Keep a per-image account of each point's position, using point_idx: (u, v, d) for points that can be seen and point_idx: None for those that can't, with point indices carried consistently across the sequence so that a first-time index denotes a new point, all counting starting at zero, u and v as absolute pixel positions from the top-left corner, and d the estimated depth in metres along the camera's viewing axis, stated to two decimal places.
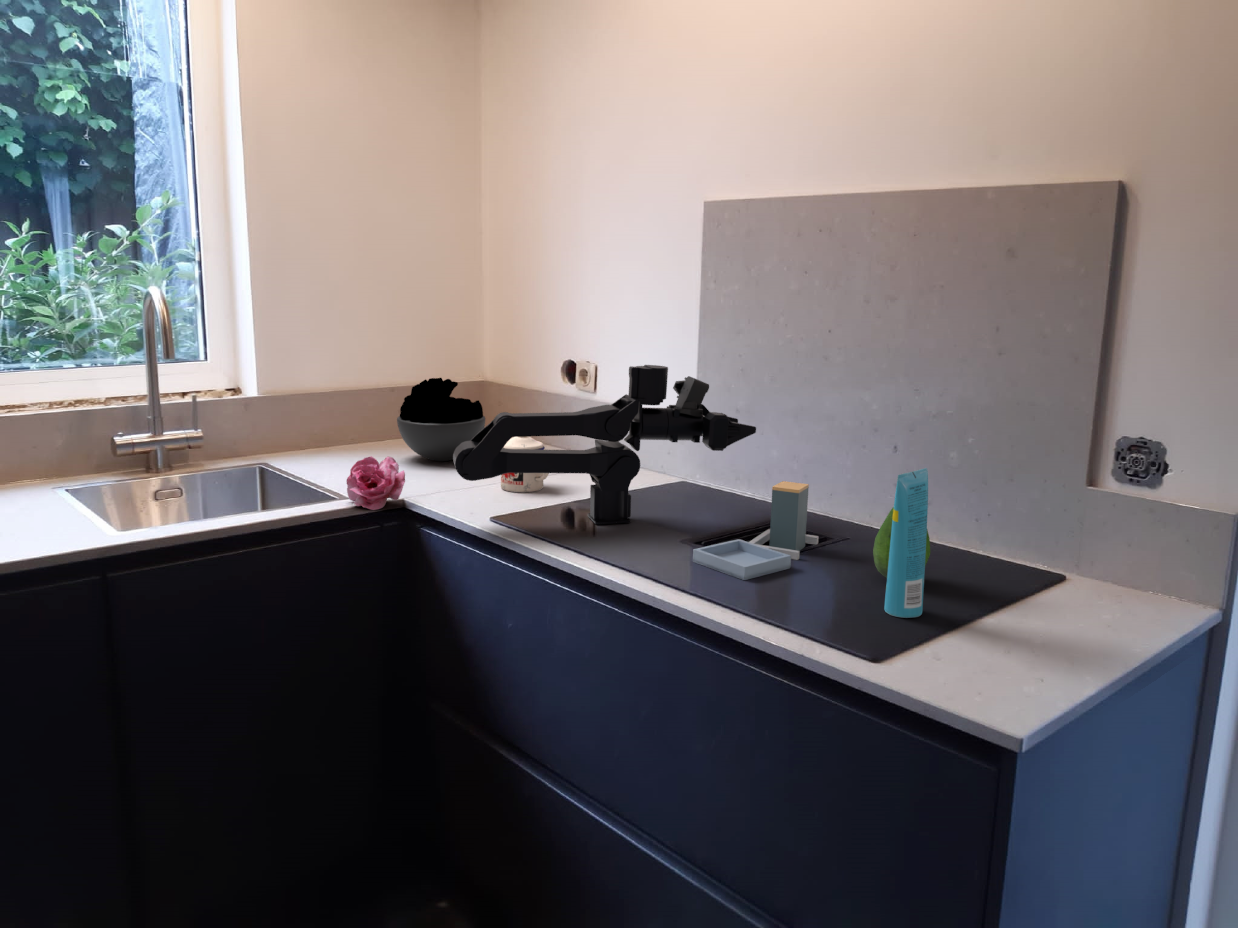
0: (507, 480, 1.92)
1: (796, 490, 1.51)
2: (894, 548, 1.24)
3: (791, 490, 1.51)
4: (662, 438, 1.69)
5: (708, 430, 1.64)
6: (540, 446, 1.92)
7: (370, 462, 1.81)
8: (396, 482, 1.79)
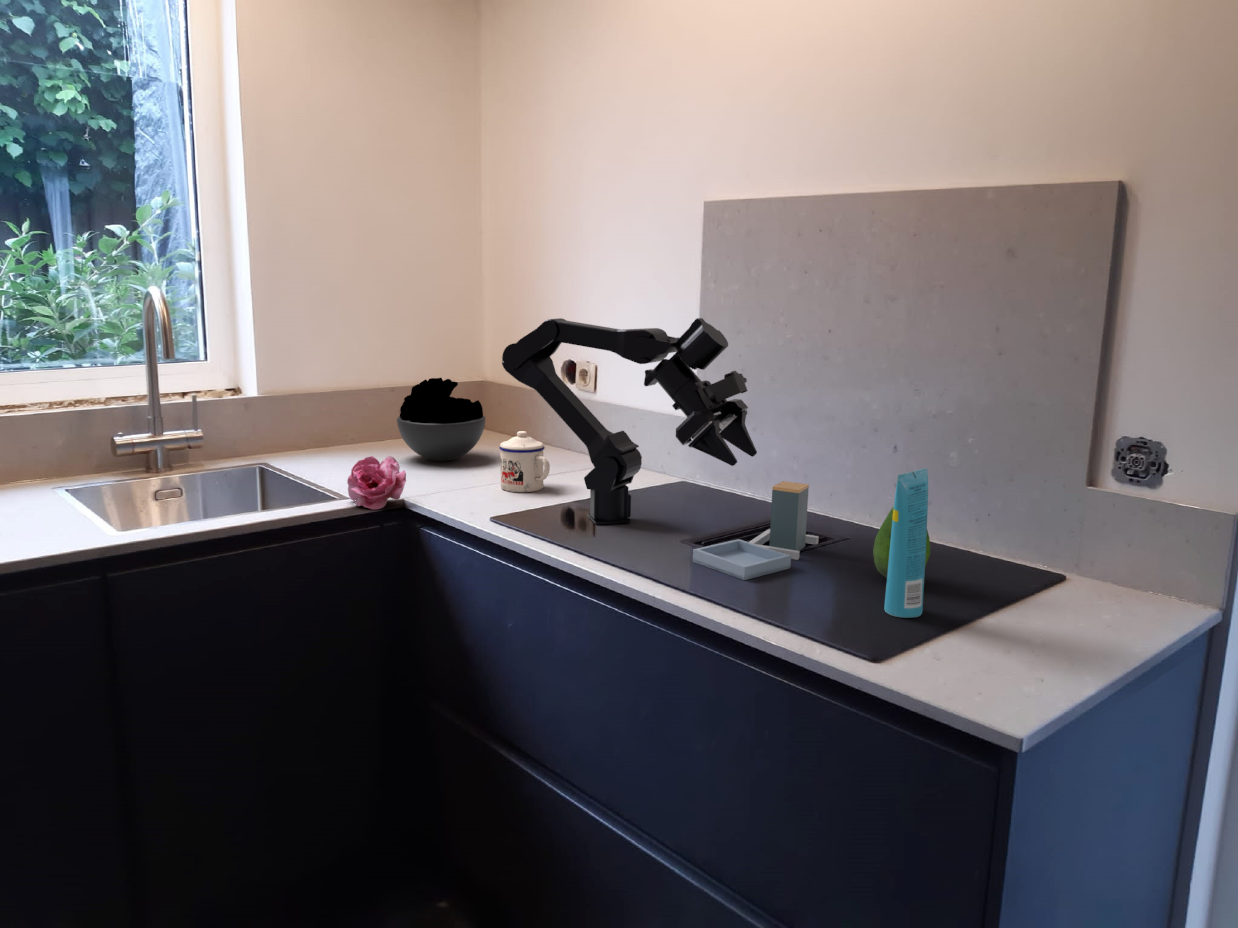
0: (507, 480, 1.92)
1: (796, 490, 1.51)
2: (894, 548, 1.24)
3: (791, 490, 1.51)
4: (670, 396, 1.60)
5: (687, 418, 1.52)
6: (540, 446, 1.92)
7: (371, 462, 1.81)
8: (397, 482, 1.79)
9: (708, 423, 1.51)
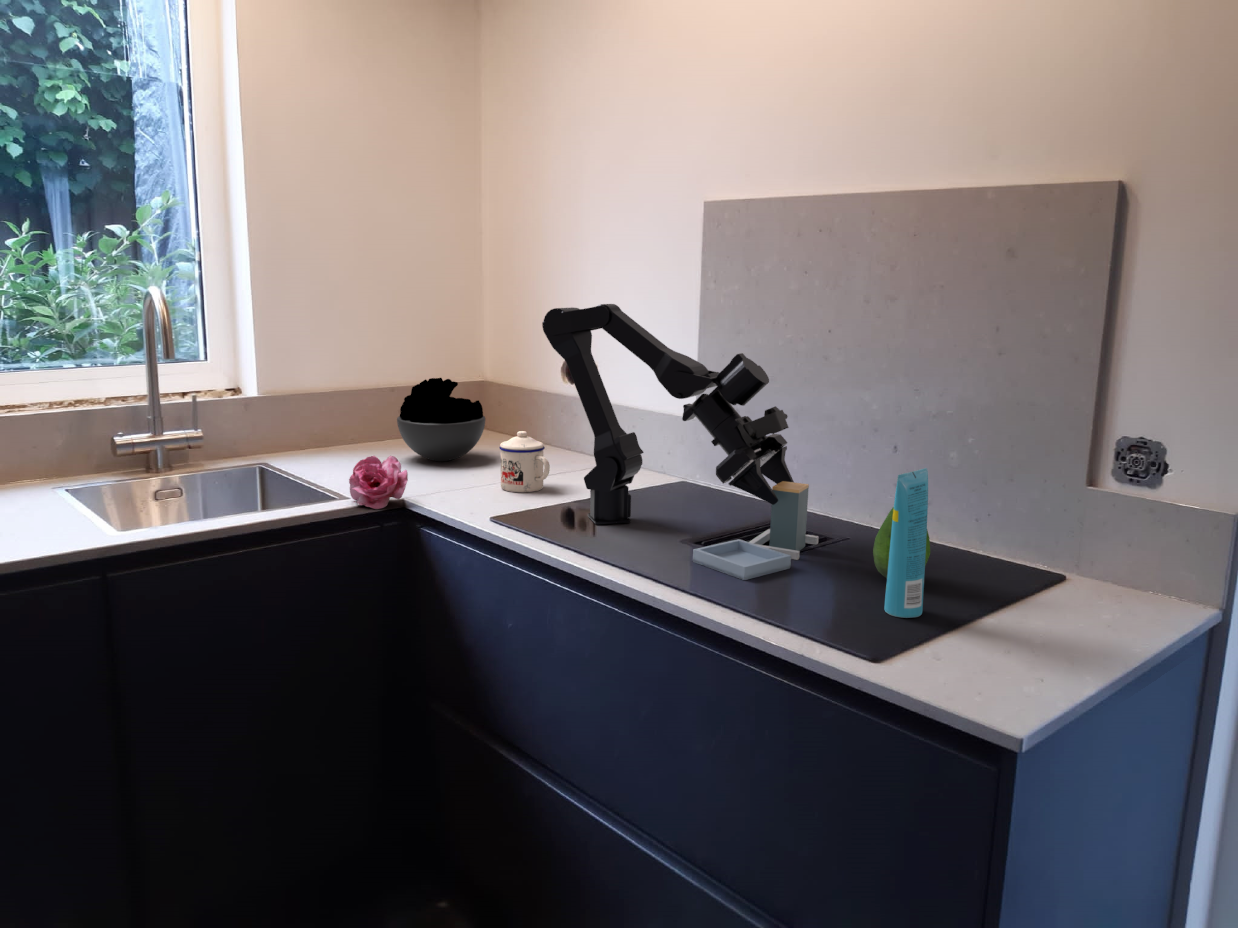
0: (507, 480, 1.92)
1: (796, 490, 1.51)
2: (894, 548, 1.24)
3: (791, 490, 1.51)
4: (709, 431, 1.58)
5: None
6: (540, 446, 1.92)
7: (373, 461, 1.81)
8: (399, 481, 1.80)
9: (749, 462, 1.49)
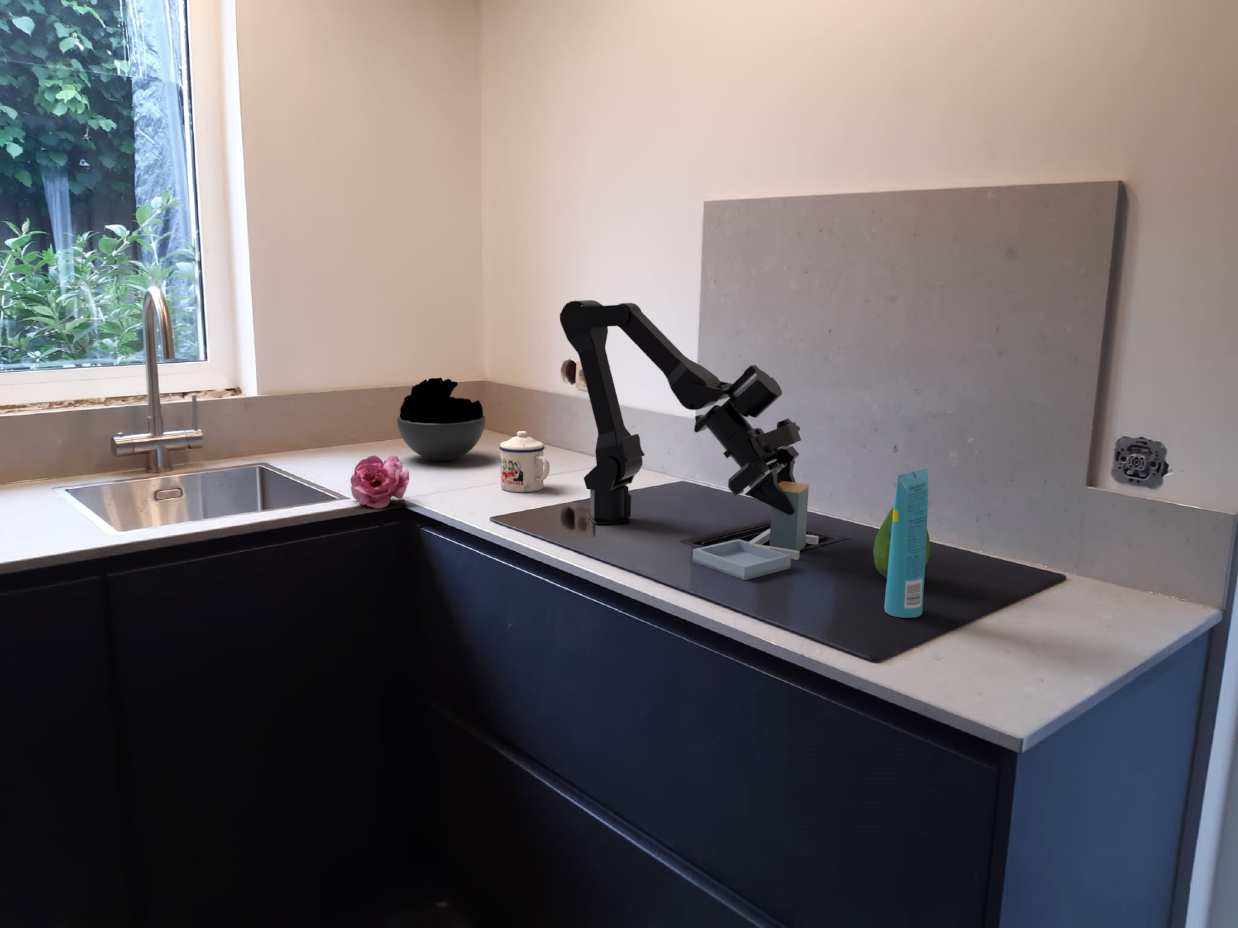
0: (507, 480, 1.92)
1: (796, 490, 1.51)
2: (894, 548, 1.24)
3: (791, 490, 1.51)
4: (721, 443, 1.57)
5: (740, 469, 1.49)
6: (540, 446, 1.92)
7: (374, 461, 1.82)
8: (400, 481, 1.80)
9: (766, 472, 1.50)
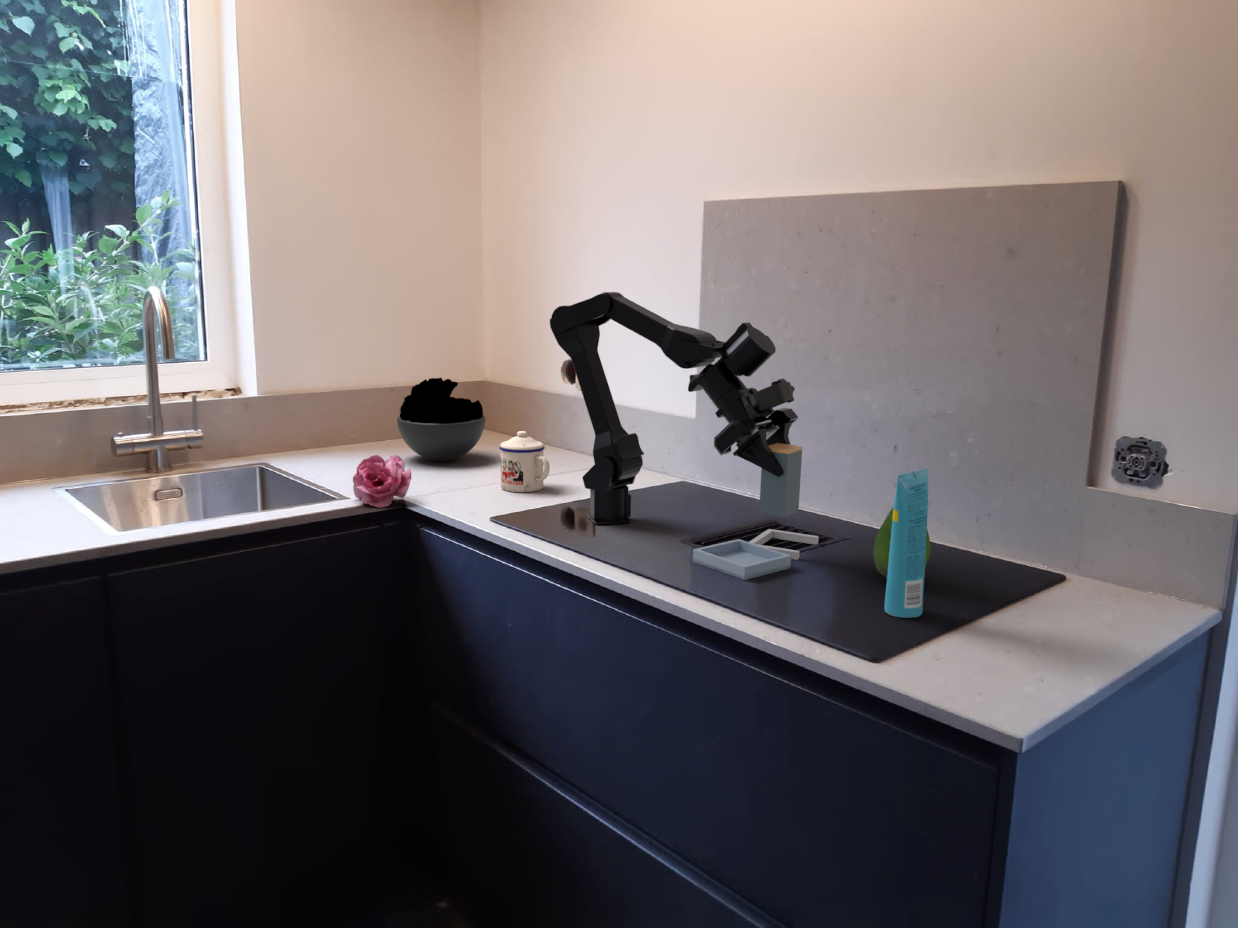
0: (507, 480, 1.92)
1: (786, 451, 1.46)
2: (894, 548, 1.24)
3: (781, 451, 1.47)
4: None
5: (726, 427, 1.45)
6: (540, 446, 1.92)
7: (376, 460, 1.82)
8: (402, 480, 1.81)
9: (754, 431, 1.46)
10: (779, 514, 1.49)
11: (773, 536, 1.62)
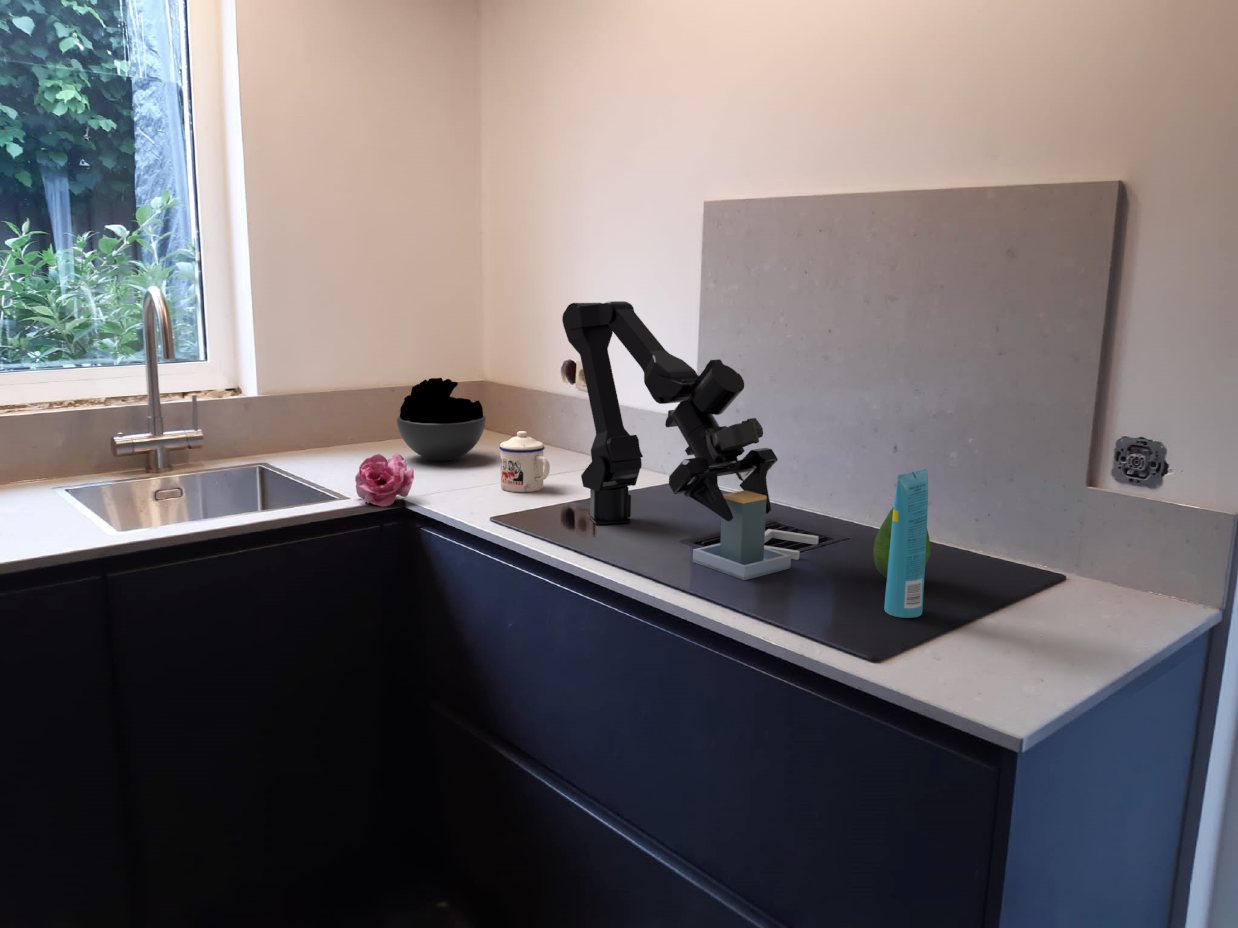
0: (507, 480, 1.92)
1: (741, 500, 1.41)
2: (894, 548, 1.24)
3: (737, 499, 1.42)
4: None
5: None
6: (540, 446, 1.92)
7: (379, 459, 1.83)
8: (405, 479, 1.82)
9: (701, 473, 1.41)
10: None
11: (773, 536, 1.62)
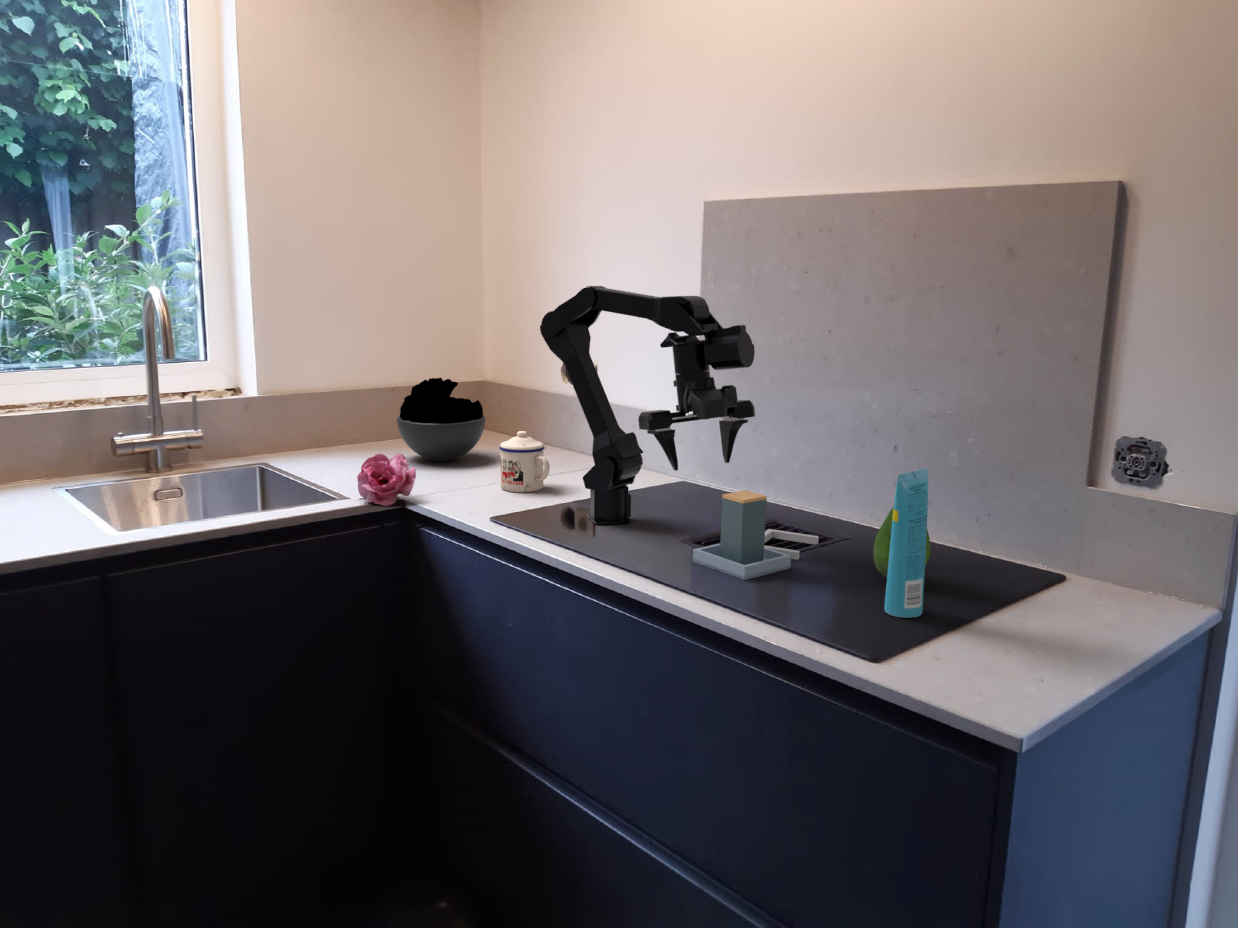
0: (507, 480, 1.92)
1: (741, 500, 1.41)
2: (894, 548, 1.24)
3: (737, 499, 1.42)
4: (675, 371, 1.57)
5: (649, 412, 1.55)
6: (540, 446, 1.92)
7: (380, 459, 1.84)
8: (407, 478, 1.82)
9: (660, 428, 1.54)
10: None
11: (773, 536, 1.62)
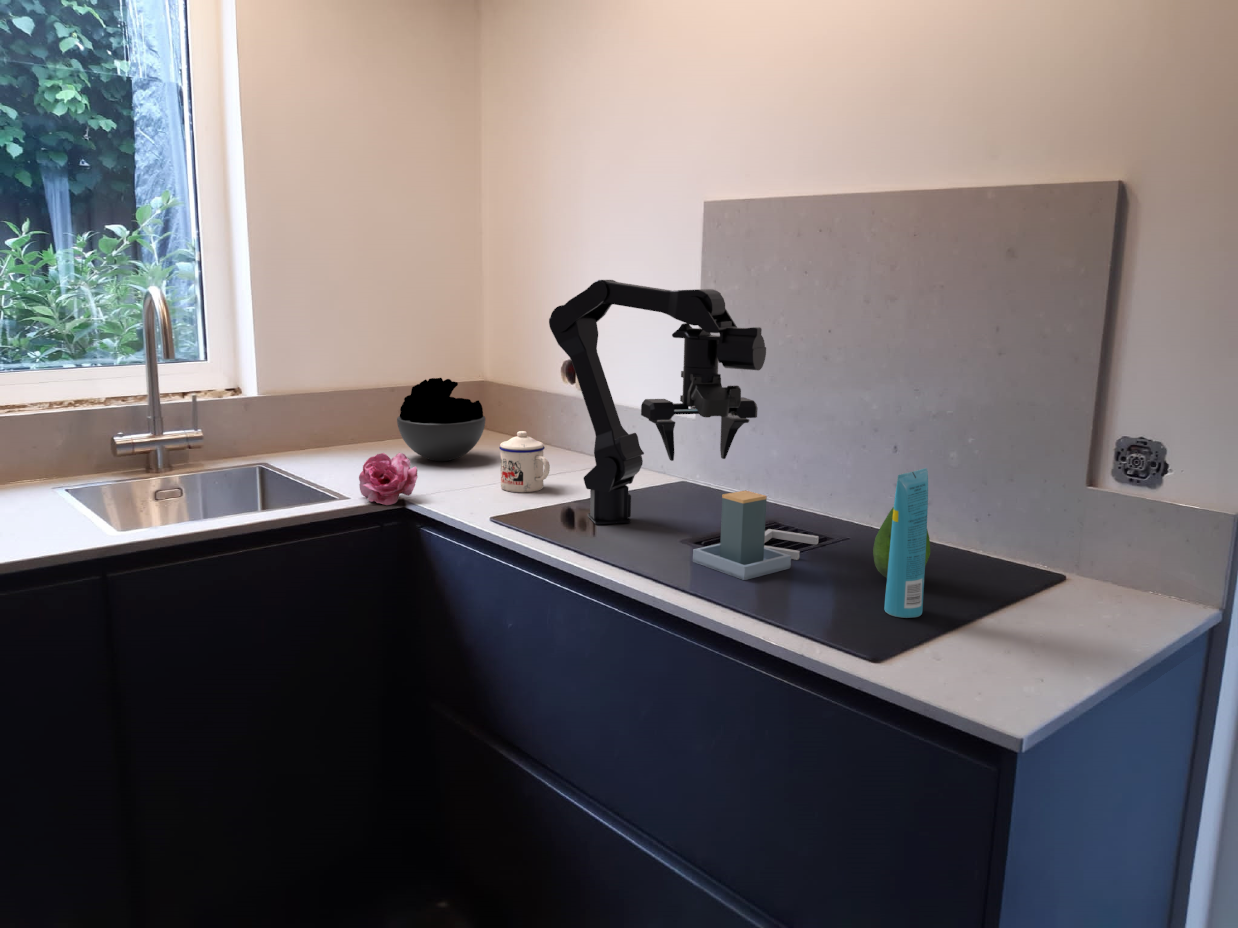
0: (507, 480, 1.92)
1: (741, 500, 1.41)
2: (894, 548, 1.24)
3: (737, 499, 1.42)
4: (684, 363, 1.57)
5: (652, 401, 1.56)
6: (540, 446, 1.92)
7: (382, 458, 1.84)
8: (408, 478, 1.83)
9: None
10: None
11: (773, 536, 1.62)
